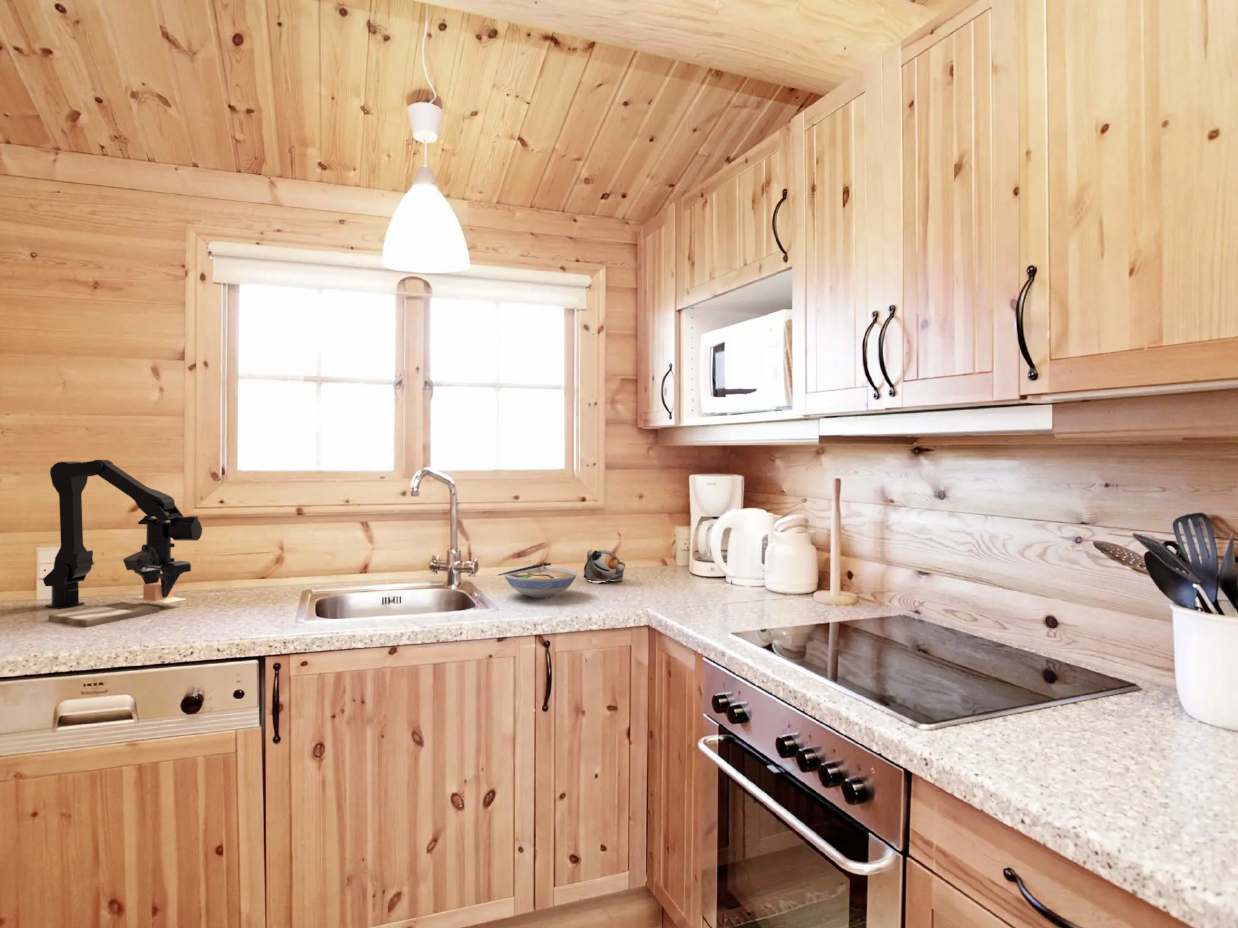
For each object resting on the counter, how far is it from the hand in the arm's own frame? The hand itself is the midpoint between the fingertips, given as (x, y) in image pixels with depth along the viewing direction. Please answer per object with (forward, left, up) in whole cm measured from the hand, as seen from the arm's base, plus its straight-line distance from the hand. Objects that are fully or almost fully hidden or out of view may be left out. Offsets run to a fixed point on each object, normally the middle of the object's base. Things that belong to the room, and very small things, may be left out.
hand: (158, 596), depth 196 cm
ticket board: (0, -14, -3) cm, 14 cm away
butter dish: (0, 0, -1) cm, 1 cm away
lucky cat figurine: (+96, +91, -3) cm, 132 cm away
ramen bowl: (+88, +59, -3) cm, 106 cm away
